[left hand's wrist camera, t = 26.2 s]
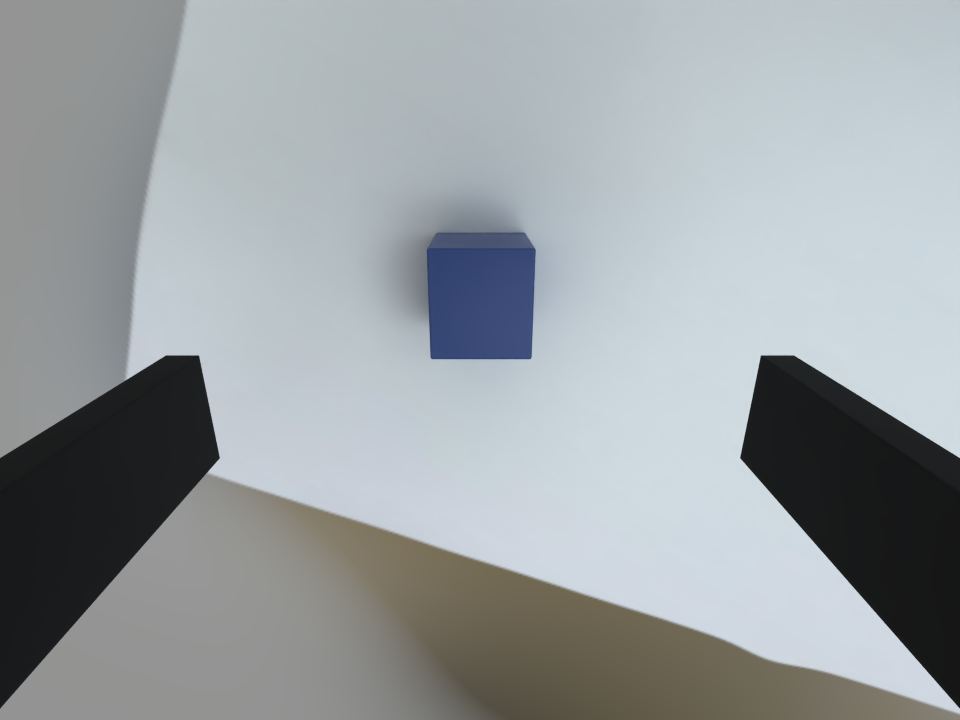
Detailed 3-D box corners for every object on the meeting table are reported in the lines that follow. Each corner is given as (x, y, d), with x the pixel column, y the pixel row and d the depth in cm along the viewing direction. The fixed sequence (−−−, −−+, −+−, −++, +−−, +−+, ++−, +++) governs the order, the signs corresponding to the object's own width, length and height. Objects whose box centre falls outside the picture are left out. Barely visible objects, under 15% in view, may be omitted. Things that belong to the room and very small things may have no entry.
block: (438, 326, 26) (430, 359, 22) (436, 232, 25) (426, 248, 20) (522, 326, 26) (531, 359, 22) (525, 232, 25) (535, 248, 20)
